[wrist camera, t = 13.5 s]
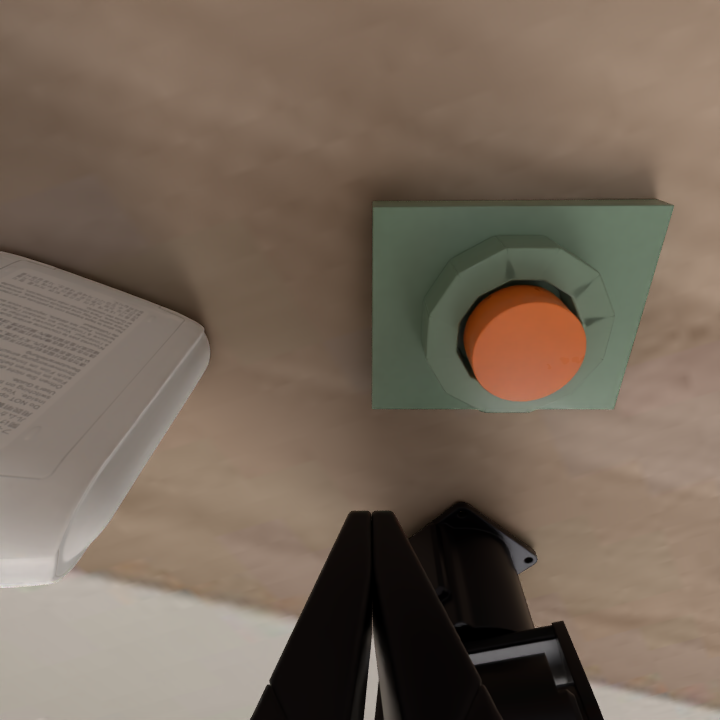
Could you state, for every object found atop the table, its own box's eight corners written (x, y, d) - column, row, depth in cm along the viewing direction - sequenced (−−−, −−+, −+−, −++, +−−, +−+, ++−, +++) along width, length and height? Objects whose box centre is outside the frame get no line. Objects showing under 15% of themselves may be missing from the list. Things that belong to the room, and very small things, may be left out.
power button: (578, 283, 17) (598, 301, 16) (557, 378, 19) (574, 402, 18) (468, 284, 17) (478, 302, 16) (458, 378, 19) (466, 402, 18)
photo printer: (-26, 321, 21) (-435, 550, 10) (-25, 231, 19) (-525, 397, 9) (201, 394, 23) (51, 657, 12) (222, 319, 21) (68, 550, 10)
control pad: (657, 199, 18) (706, 215, 16) (602, 395, 23) (633, 434, 20) (372, 200, 19) (373, 217, 16) (371, 395, 23) (372, 433, 20)
